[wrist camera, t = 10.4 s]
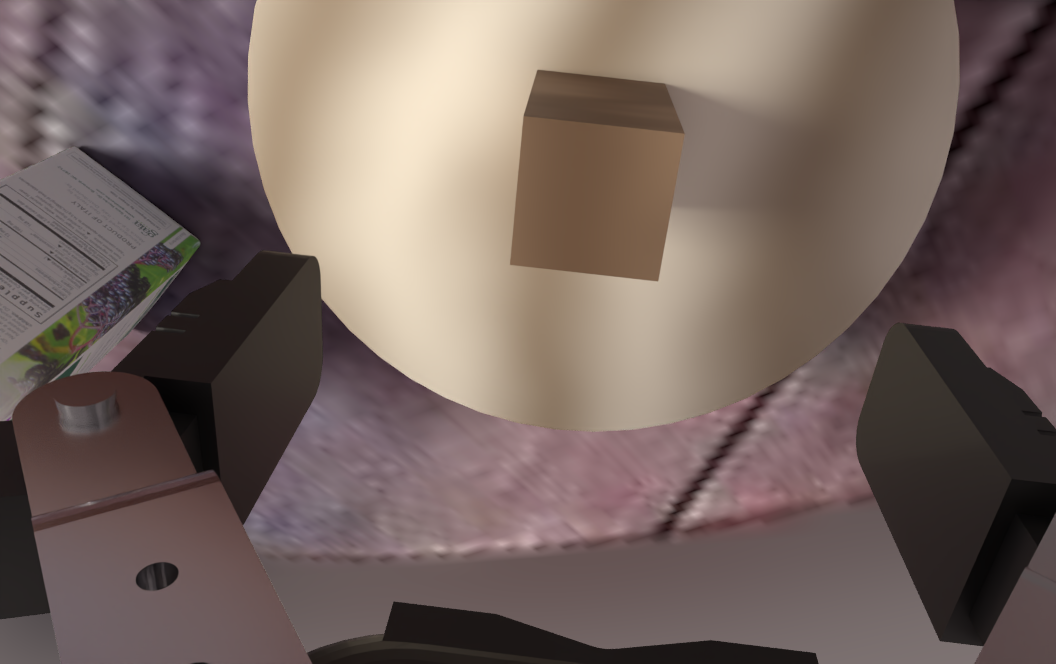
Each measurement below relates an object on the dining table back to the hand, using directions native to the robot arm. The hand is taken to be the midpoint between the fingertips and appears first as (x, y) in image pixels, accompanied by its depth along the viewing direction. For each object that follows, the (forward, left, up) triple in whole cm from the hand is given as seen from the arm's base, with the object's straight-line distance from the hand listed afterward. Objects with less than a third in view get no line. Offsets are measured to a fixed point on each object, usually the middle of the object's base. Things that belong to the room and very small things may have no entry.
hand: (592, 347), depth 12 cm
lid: (0, 0, -12) cm, 12 cm away
